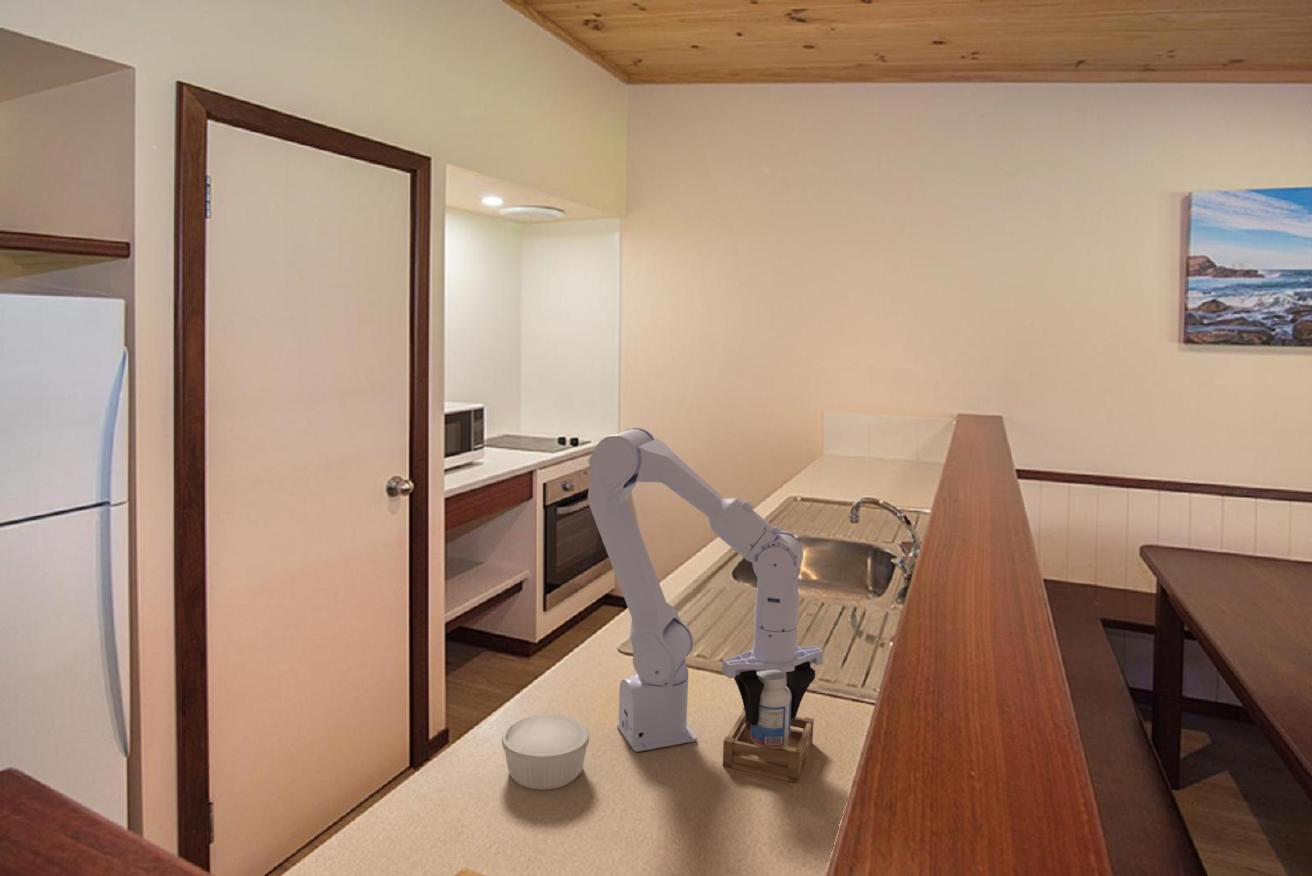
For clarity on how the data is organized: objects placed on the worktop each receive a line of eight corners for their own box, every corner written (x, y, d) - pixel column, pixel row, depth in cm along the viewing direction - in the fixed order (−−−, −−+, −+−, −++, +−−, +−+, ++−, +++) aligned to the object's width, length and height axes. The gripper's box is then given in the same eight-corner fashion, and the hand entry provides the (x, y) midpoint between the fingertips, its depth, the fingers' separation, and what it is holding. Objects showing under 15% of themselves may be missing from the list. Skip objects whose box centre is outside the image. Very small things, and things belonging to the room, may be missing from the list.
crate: (796, 783, 105) (798, 757, 104) (722, 765, 108) (723, 740, 108) (812, 742, 115) (813, 718, 114) (744, 728, 119) (745, 704, 118)
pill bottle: (765, 726, 115) (767, 661, 114) (797, 739, 112) (800, 672, 110) (742, 740, 111) (744, 673, 110) (775, 755, 108) (777, 686, 106)
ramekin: (493, 758, 109) (493, 721, 108) (572, 742, 113) (573, 707, 113) (514, 804, 99) (514, 764, 98) (600, 785, 103) (601, 746, 103)
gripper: (741, 641, 102) (736, 741, 105) (838, 628, 108) (832, 723, 110) (717, 622, 109) (713, 716, 111) (809, 610, 114) (804, 700, 116)
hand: (770, 718), depth 111 cm, fingers closed on pill bottle, 5 cm apart
